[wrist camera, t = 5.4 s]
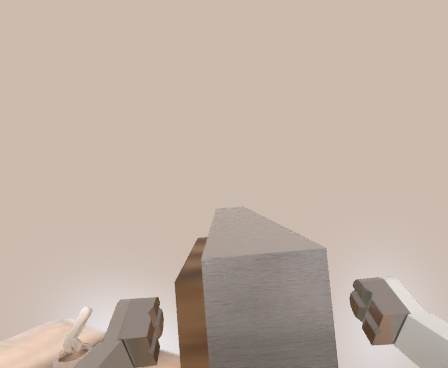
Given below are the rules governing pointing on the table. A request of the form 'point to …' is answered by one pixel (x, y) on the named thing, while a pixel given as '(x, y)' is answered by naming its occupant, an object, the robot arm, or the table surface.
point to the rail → (265, 295)
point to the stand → (192, 310)
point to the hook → (74, 341)
